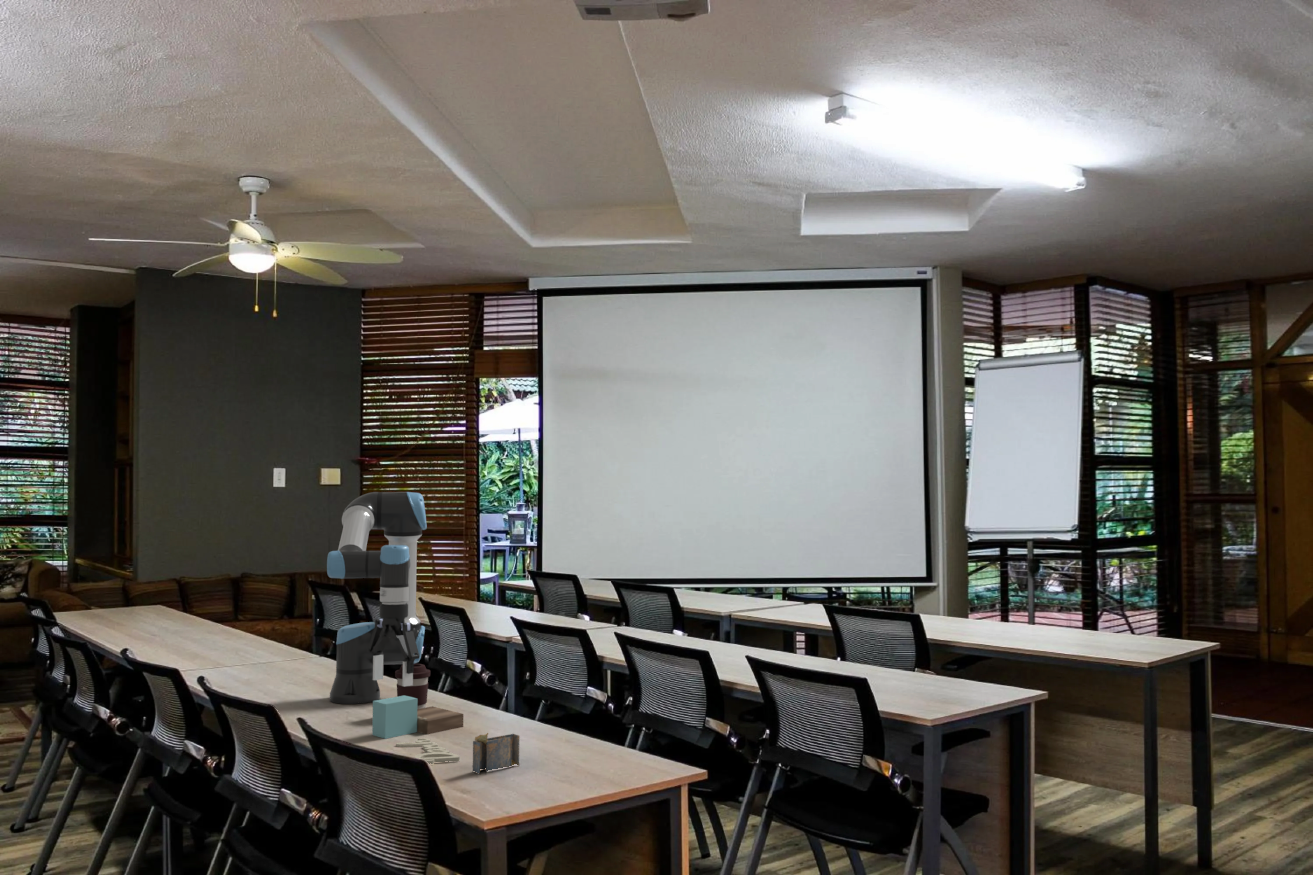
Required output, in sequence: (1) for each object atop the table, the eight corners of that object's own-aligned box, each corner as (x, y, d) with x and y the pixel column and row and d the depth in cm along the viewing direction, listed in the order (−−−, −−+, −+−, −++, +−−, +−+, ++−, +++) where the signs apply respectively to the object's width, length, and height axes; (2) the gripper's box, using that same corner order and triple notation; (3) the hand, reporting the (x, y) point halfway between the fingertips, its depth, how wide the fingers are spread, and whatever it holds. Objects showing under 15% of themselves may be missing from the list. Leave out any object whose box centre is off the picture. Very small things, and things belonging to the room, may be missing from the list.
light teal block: (372, 734, 279) (372, 700, 280) (403, 728, 287) (404, 695, 287) (385, 738, 275) (385, 704, 276) (416, 732, 283) (417, 698, 283)
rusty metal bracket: (479, 776, 244) (480, 734, 245) (472, 773, 247) (473, 731, 247) (520, 768, 252) (520, 727, 252) (513, 765, 254) (513, 724, 254)
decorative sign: (460, 756, 256) (421, 761, 251) (460, 763, 256) (421, 768, 251) (429, 736, 276) (392, 741, 270) (429, 742, 275) (392, 747, 270)
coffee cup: (420, 722, 296) (421, 669, 297) (388, 720, 298) (389, 667, 299) (435, 714, 306) (435, 663, 306) (403, 713, 308) (404, 661, 308)
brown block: (396, 727, 290) (397, 712, 290) (432, 720, 299) (432, 705, 299) (427, 736, 280) (427, 719, 281) (463, 728, 289) (463, 712, 290)
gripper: (355, 600, 287) (354, 678, 286) (409, 607, 271) (408, 690, 269) (379, 598, 293) (377, 675, 292) (433, 605, 276) (432, 686, 275)
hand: (392, 682), depth 281 cm, fingers open, 13 cm apart
